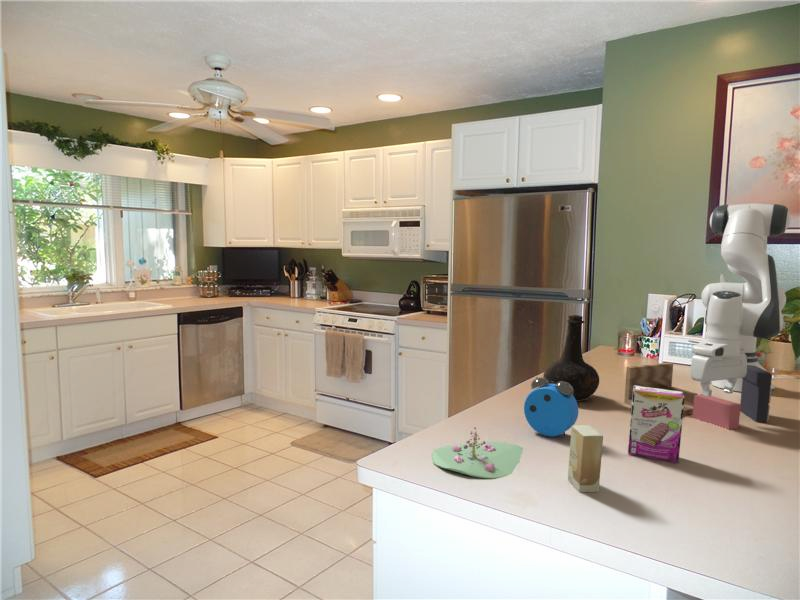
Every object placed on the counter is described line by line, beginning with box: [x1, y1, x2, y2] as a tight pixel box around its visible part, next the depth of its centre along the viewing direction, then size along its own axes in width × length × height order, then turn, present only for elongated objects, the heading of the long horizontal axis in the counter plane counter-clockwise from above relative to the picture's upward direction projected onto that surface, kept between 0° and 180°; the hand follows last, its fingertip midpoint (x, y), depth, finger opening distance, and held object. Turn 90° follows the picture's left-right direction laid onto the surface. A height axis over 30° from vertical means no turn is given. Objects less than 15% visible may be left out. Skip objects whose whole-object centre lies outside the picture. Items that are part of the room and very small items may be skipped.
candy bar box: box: [627, 386, 684, 463], centre depth 124 cm, size 11×5×16 cm, turn 65°
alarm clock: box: [523, 376, 579, 438], centre depth 137 cm, size 13×6×15 cm, turn 52°
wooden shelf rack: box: [623, 362, 699, 416], centre depth 164 cm, size 20×16×12 cm
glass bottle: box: [542, 314, 600, 402], centre depth 171 cm, size 18×18×28 cm
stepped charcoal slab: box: [739, 365, 773, 423], centre depth 156 cm, size 11×4×15 cm, turn 168°
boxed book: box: [692, 393, 741, 430], centre depth 150 cm, size 4×11×7 cm, turn 24°
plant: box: [431, 426, 524, 479], centre depth 121 cm, size 25×21×9 cm
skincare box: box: [567, 424, 604, 493], centre depth 107 cm, size 6×4×12 cm
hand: (717, 394), depth 149 cm, fingers open, 8 cm apart
